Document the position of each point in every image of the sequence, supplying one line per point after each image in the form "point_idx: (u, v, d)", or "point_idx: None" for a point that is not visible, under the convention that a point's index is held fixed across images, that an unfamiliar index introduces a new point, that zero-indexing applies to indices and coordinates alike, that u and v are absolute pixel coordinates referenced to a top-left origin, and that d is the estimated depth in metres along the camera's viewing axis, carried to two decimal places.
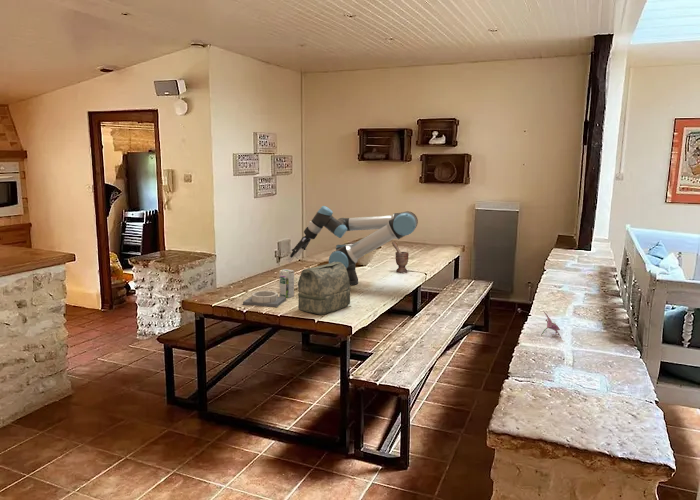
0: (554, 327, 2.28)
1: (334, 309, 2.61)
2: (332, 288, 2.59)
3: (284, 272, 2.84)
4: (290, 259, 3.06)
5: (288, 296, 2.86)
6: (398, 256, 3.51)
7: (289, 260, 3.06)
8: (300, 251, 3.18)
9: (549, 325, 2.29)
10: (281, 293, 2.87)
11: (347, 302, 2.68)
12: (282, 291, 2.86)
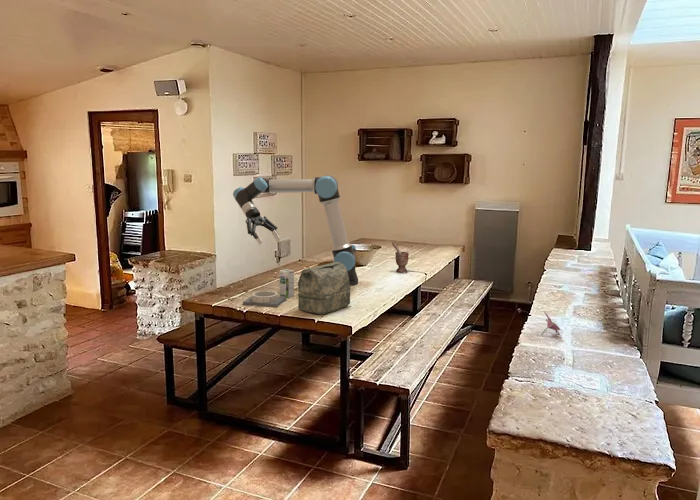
0: (554, 327, 2.28)
1: (334, 309, 2.61)
2: (332, 288, 2.59)
3: (284, 272, 2.84)
4: (259, 239, 2.88)
5: (288, 296, 2.86)
6: (398, 256, 3.51)
7: (259, 241, 2.88)
8: (274, 233, 3.00)
9: (549, 325, 2.29)
10: (281, 293, 2.87)
11: (347, 302, 2.68)
12: (282, 291, 2.86)
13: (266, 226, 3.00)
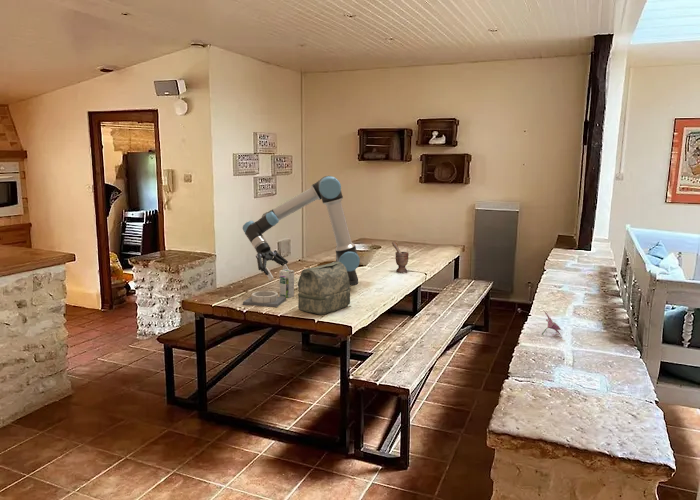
0: (555, 327, 2.28)
1: (334, 309, 2.61)
2: (332, 288, 2.59)
3: (284, 272, 2.84)
4: (270, 275, 2.83)
5: (288, 296, 2.86)
6: (398, 256, 3.51)
7: (270, 277, 2.83)
8: (285, 267, 2.95)
9: (550, 325, 2.29)
10: (281, 293, 2.87)
11: (347, 302, 2.68)
12: (282, 291, 2.86)
13: (277, 260, 2.95)
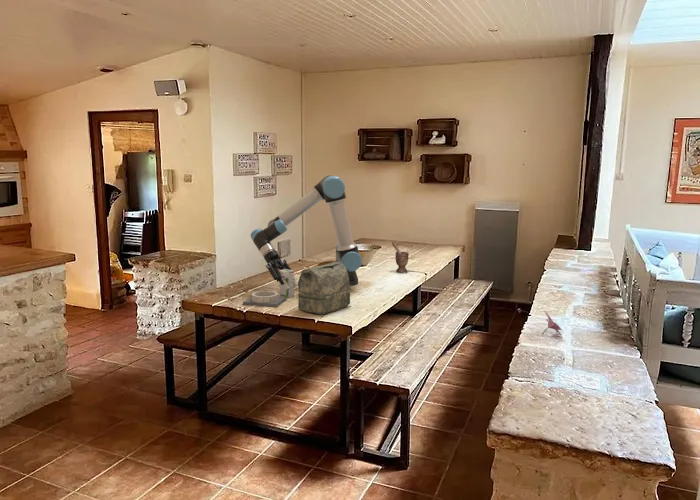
0: (555, 327, 2.28)
1: (334, 309, 2.61)
2: (332, 288, 2.59)
3: (284, 272, 2.84)
4: (285, 285, 2.83)
5: (288, 296, 2.86)
6: (398, 256, 3.51)
7: (286, 287, 2.83)
8: None
9: (550, 325, 2.29)
10: (281, 293, 2.87)
11: (347, 302, 2.68)
12: (282, 291, 2.86)
13: None
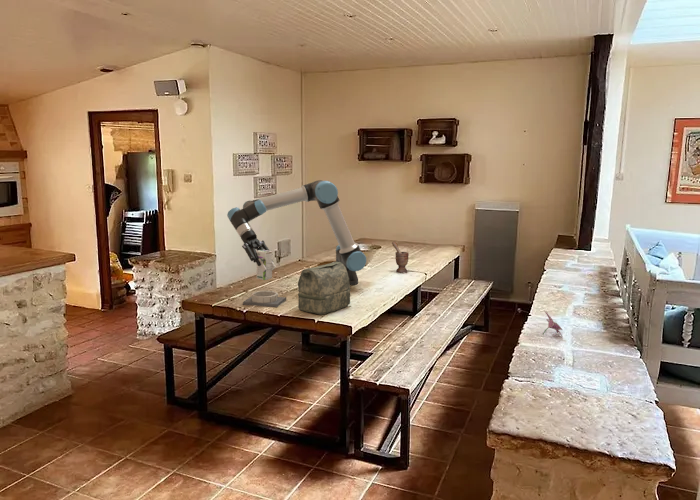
0: (555, 327, 2.28)
1: (334, 309, 2.61)
2: (332, 288, 2.59)
3: (261, 252, 2.70)
4: (262, 267, 2.70)
5: (265, 278, 2.72)
6: (398, 256, 3.51)
7: (263, 268, 2.69)
8: None
9: (550, 325, 2.29)
10: (258, 275, 2.73)
11: (347, 302, 2.68)
12: (259, 272, 2.73)
13: None
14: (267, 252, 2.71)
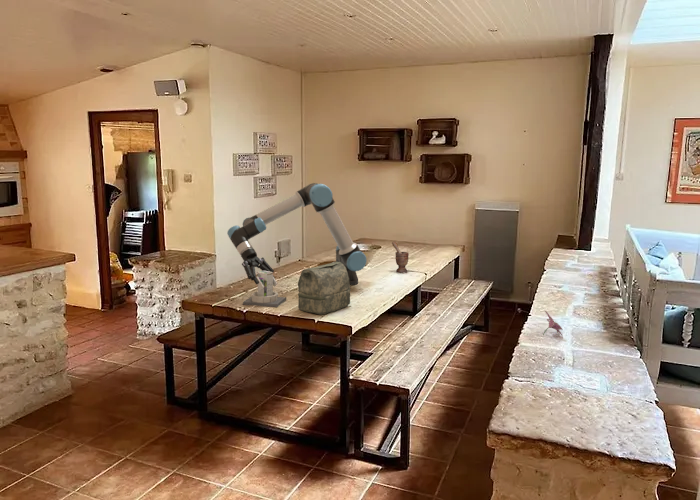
0: (556, 326, 2.28)
1: (334, 309, 2.61)
2: (332, 288, 2.59)
3: (262, 274, 2.72)
4: (260, 285, 2.70)
5: None
6: (398, 256, 3.51)
7: (261, 286, 2.70)
8: None
9: (551, 325, 2.29)
10: None
11: (347, 302, 2.68)
12: (260, 293, 2.74)
13: (262, 268, 2.79)
14: (268, 273, 2.73)
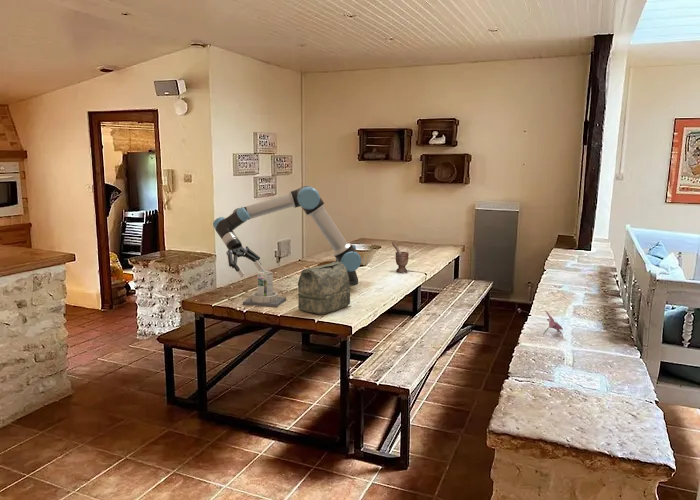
0: (556, 326, 2.29)
1: (334, 309, 2.61)
2: (332, 288, 2.59)
3: (262, 274, 2.72)
4: (241, 272, 2.78)
5: None
6: (398, 256, 3.51)
7: (241, 273, 2.78)
8: (257, 263, 2.90)
9: (551, 324, 2.30)
10: None
11: (347, 302, 2.68)
12: (260, 293, 2.74)
13: (248, 257, 2.90)
14: (268, 273, 2.73)
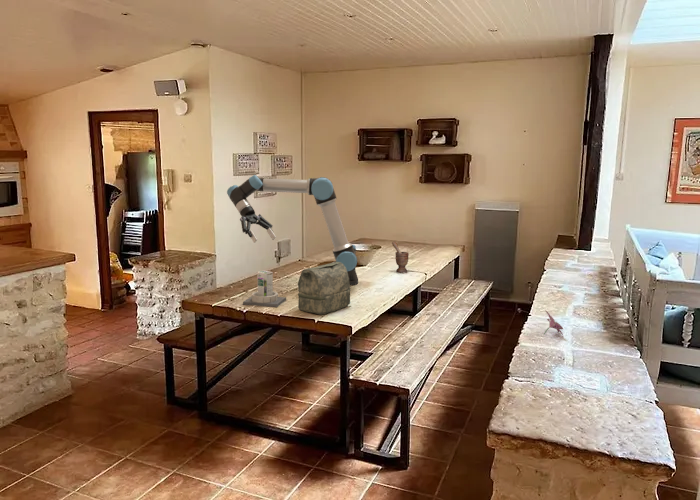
0: (557, 326, 2.29)
1: (334, 309, 2.61)
2: (332, 288, 2.59)
3: (262, 274, 2.72)
4: (254, 238, 2.84)
5: None
6: (398, 256, 3.51)
7: (254, 239, 2.84)
8: (269, 231, 2.96)
9: (552, 324, 2.30)
10: None
11: (347, 302, 2.68)
12: (260, 293, 2.74)
13: (261, 224, 2.96)
14: (268, 273, 2.73)
